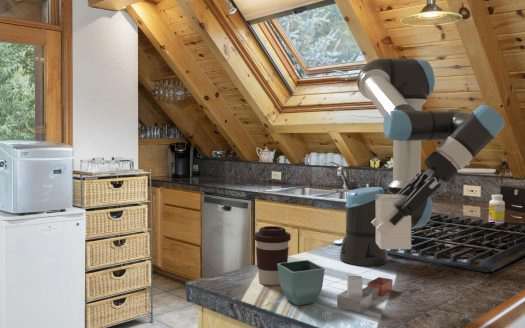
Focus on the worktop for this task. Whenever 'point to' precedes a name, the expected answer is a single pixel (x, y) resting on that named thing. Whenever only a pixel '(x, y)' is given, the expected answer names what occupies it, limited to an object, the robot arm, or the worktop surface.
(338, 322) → the worktop surface
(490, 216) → the supplement bottle
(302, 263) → the flower pot
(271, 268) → the coffee cup
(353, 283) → the tiny brick pile
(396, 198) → the tall white upright block
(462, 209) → the worktop surface
